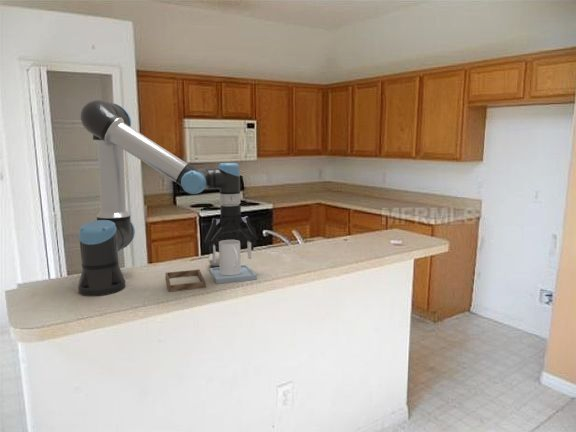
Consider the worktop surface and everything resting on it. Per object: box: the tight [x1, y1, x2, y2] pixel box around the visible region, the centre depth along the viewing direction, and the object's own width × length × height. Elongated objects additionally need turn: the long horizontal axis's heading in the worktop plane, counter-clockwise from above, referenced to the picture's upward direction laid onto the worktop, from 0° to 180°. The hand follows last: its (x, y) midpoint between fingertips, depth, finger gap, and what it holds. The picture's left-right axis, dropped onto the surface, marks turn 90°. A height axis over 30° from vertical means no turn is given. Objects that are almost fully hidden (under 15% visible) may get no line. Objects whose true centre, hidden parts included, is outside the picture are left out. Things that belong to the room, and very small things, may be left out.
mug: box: [218, 239, 242, 276], centre depth 161 cm, size 12×8×12 cm
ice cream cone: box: [207, 251, 220, 267], centre depth 175 cm, size 6×6×15 cm
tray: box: [209, 264, 258, 285], centre depth 162 cm, size 15×15×2 cm
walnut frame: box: [165, 268, 207, 293], centre depth 155 cm, size 13×17×2 cm
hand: (232, 260), depth 162 cm, fingers open, 13 cm apart
